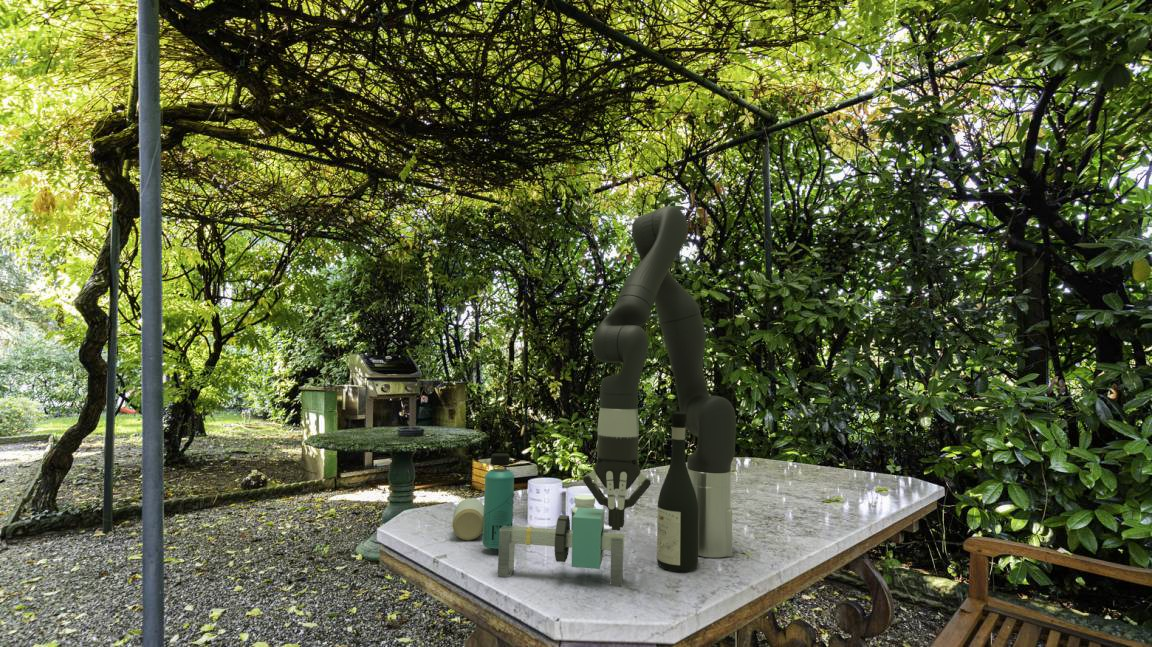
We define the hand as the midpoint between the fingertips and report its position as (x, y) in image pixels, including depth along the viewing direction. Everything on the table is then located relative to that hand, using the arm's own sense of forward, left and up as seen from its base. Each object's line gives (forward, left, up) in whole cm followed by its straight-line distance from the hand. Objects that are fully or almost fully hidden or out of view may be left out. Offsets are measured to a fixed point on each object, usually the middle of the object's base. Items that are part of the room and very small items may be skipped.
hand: (615, 529), depth 102 cm
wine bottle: (-12, -11, -10) cm, 19 cm away
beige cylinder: (+33, -21, -10) cm, 41 cm away
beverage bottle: (+25, -12, -10) cm, 30 cm away
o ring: (+10, 0, -6) cm, 12 cm away
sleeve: (+5, 0, -6) cm, 8 cm away
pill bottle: (+8, -22, -10) cm, 26 cm away
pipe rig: (+10, 0, -9) cm, 14 cm away
